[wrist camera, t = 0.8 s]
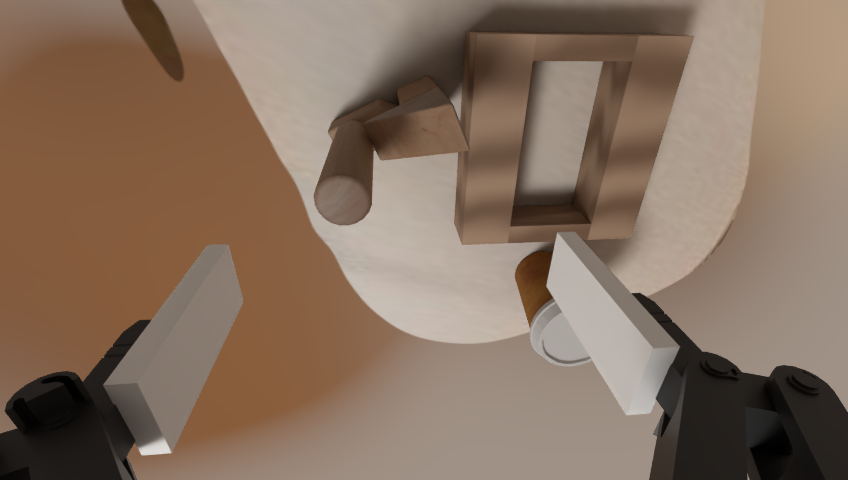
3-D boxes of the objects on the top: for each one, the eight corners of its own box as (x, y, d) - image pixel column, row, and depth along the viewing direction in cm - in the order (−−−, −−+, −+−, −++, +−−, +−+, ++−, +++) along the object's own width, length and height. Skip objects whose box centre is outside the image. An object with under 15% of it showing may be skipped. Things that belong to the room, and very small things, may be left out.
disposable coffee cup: (506, 307, 54) (537, 377, 43) (498, 249, 49) (531, 313, 39) (575, 291, 54) (622, 358, 43) (574, 232, 49) (626, 291, 38)
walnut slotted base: (465, 31, 37) (477, 33, 32) (658, 33, 38) (694, 36, 34) (454, 223, 47) (462, 244, 42) (607, 218, 48) (630, 238, 44)
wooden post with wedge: (443, 108, 40) (484, 169, 24) (348, 153, 41) (330, 238, 26) (428, 72, 38) (463, 113, 23) (330, 121, 39) (299, 191, 24)
